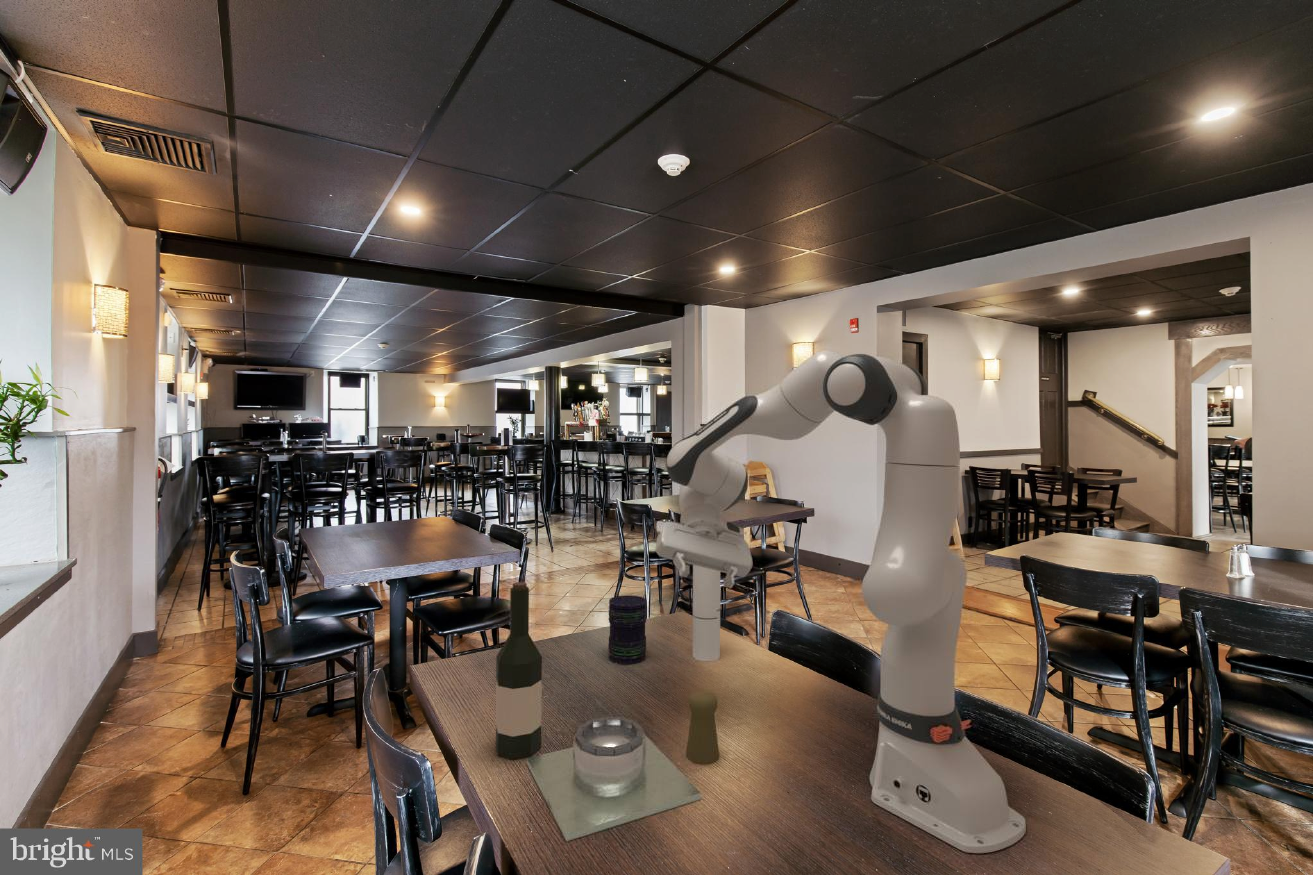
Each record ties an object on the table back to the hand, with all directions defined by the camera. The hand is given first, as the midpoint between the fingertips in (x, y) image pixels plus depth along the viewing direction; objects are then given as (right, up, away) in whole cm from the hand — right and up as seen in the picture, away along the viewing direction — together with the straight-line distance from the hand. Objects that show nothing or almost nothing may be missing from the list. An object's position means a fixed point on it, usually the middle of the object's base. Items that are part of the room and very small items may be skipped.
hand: (707, 580), depth 114 cm
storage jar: (-17, -30, +38) cm, 51 cm away
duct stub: (-18, -29, -17) cm, 38 cm away
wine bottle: (-35, -29, -7) cm, 46 cm away
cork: (-2, -29, -9) cm, 31 cm away
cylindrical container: (+3, -30, +40) cm, 50 cm away
